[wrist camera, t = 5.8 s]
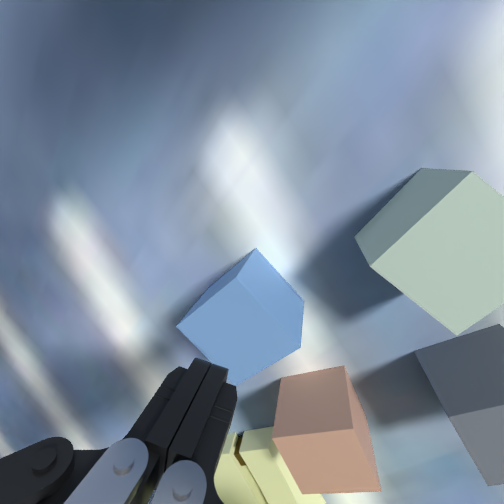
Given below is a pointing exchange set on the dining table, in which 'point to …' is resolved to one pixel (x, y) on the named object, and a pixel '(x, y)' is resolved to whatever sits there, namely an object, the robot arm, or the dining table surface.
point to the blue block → (246, 319)
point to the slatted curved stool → (257, 472)
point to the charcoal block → (472, 393)
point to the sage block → (442, 245)
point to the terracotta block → (324, 434)
